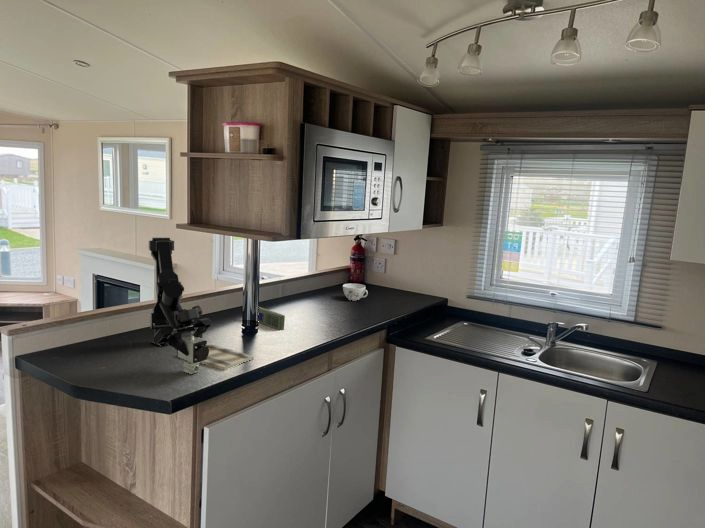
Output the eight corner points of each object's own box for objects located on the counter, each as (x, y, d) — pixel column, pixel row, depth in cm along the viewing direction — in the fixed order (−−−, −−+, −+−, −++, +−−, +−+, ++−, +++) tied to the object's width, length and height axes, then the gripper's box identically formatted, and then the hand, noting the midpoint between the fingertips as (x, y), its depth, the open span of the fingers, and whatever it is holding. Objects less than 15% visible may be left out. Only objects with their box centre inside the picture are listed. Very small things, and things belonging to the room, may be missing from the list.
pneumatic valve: (196, 379, 156) (197, 341, 154) (173, 369, 163) (174, 333, 161) (211, 374, 161) (212, 337, 159) (188, 365, 167) (188, 330, 166)
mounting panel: (177, 356, 175) (177, 350, 175) (208, 346, 187) (208, 341, 187) (224, 370, 164) (224, 364, 164) (253, 359, 176) (253, 353, 176)
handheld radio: (279, 331, 212) (244, 318, 229) (285, 330, 214) (250, 317, 231) (280, 315, 211) (245, 303, 228) (286, 315, 214) (251, 303, 230)
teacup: (337, 299, 276) (338, 285, 275) (350, 296, 287) (351, 282, 285) (360, 304, 268) (361, 289, 267) (372, 300, 278) (373, 286, 277)
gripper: (158, 302, 153) (181, 346, 148) (208, 294, 168) (230, 333, 163) (143, 322, 159) (165, 365, 154) (193, 312, 174) (214, 351, 169)
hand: (195, 353), depth 160 cm, fingers closed on pneumatic valve, 5 cm apart
